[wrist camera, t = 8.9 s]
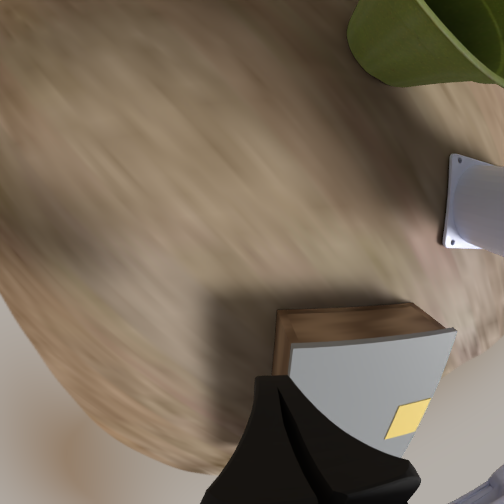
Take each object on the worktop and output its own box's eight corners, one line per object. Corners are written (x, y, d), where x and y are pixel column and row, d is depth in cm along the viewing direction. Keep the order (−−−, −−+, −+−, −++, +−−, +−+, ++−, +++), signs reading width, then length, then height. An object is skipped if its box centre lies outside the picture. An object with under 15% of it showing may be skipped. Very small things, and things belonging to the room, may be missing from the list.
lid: (452, 327, 18) (458, 331, 17) (392, 465, 22) (394, 469, 21) (291, 343, 17) (293, 349, 16) (271, 486, 21) (271, 491, 20)
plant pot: (460, 68, 18) (550, 43, 7) (397, 145, 20) (513, 138, 9) (369, -28, 15) (431, -94, 5) (282, 32, 17) (330, -67, 6)
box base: (412, 302, 23) (445, 328, 18) (371, 431, 27) (388, 462, 22) (276, 309, 22) (290, 345, 17) (264, 446, 26) (271, 484, 21)
